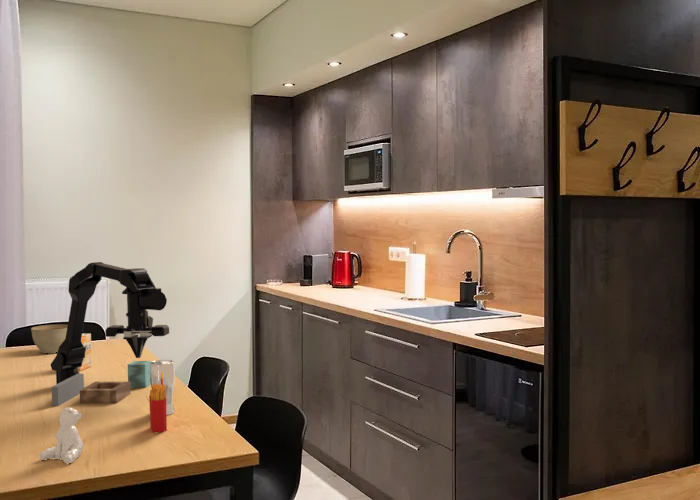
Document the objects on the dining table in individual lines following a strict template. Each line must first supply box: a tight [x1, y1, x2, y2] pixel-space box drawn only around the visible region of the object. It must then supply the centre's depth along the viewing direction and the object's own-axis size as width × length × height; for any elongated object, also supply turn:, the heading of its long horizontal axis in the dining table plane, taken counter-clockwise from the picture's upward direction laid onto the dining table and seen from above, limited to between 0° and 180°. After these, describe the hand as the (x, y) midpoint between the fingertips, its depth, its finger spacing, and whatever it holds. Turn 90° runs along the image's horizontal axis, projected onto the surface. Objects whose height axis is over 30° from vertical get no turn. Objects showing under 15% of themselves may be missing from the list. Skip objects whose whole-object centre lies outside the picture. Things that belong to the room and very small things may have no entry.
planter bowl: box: [30, 324, 68, 354], centre depth 305 cm, size 16×16×11 cm
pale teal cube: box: [127, 360, 152, 389], centre depth 240 cm, size 6×6×8 cm
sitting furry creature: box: [38, 406, 84, 464], centre depth 169 cm, size 10×9×12 cm
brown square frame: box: [79, 381, 132, 404], centre depth 224 cm, size 12×12×4 cm
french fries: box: [148, 384, 168, 433], centre depth 190 cm, size 8×4×12 cm, turn 23°
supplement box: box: [78, 333, 93, 372], centre depth 269 cm, size 8×5×13 cm, turn 168°
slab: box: [51, 373, 85, 407], centre depth 224 cm, size 2×18×6 cm, turn 177°
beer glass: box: [150, 359, 176, 416], centre depth 206 cm, size 7×7×15 cm
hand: (138, 357), depth 222 cm, fingers closed
